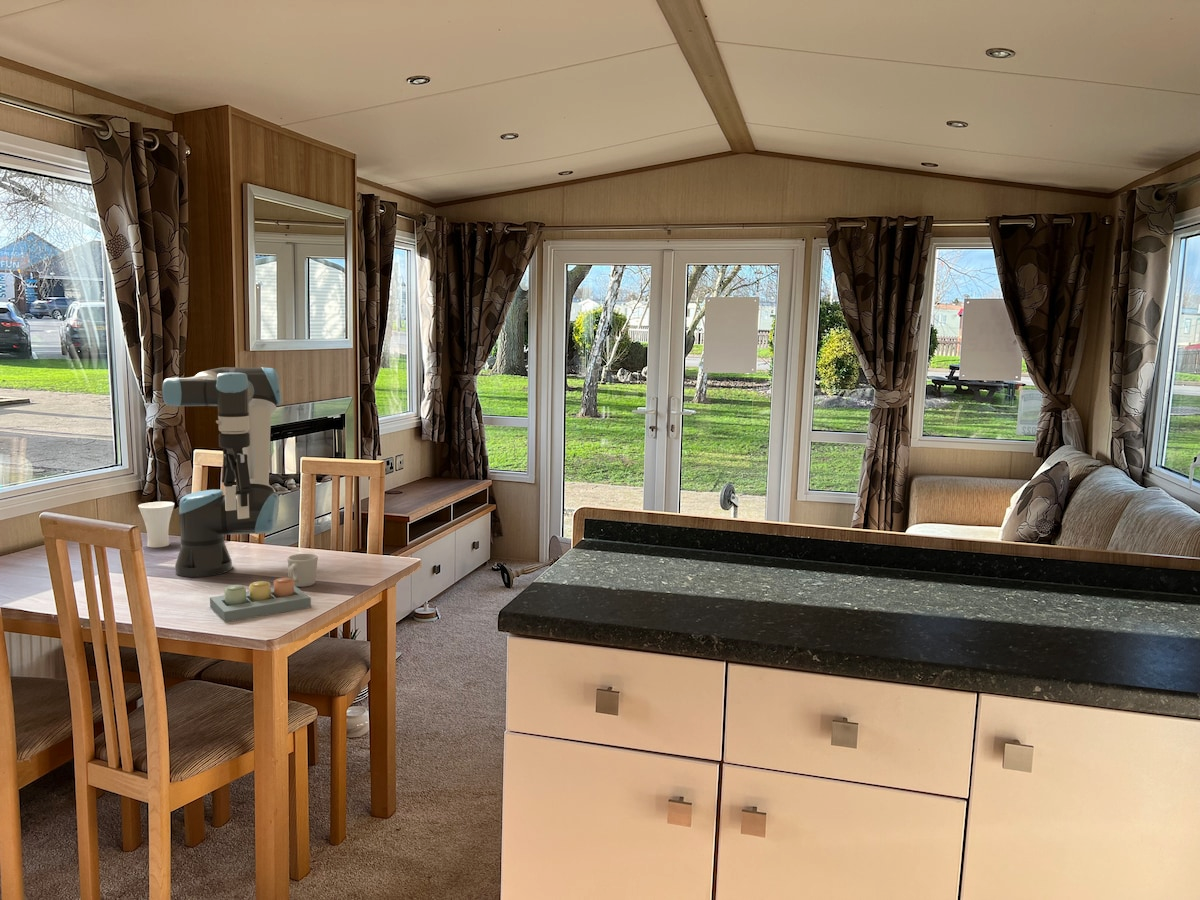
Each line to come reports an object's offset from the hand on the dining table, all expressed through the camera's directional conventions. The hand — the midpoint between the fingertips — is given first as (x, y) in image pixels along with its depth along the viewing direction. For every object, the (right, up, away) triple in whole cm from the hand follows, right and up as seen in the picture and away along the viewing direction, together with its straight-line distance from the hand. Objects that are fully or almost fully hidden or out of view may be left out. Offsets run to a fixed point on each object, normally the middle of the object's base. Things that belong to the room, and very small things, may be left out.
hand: (237, 514), depth 231 cm
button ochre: (+9, -21, -8) cm, 24 cm away
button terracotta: (+14, -21, -4) cm, 25 cm away
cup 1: (-48, -14, +53) cm, 73 cm away
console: (+9, -23, -7) cm, 26 cm away
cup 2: (+13, -21, +12) cm, 27 cm away
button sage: (+4, -22, -11) cm, 25 cm away
